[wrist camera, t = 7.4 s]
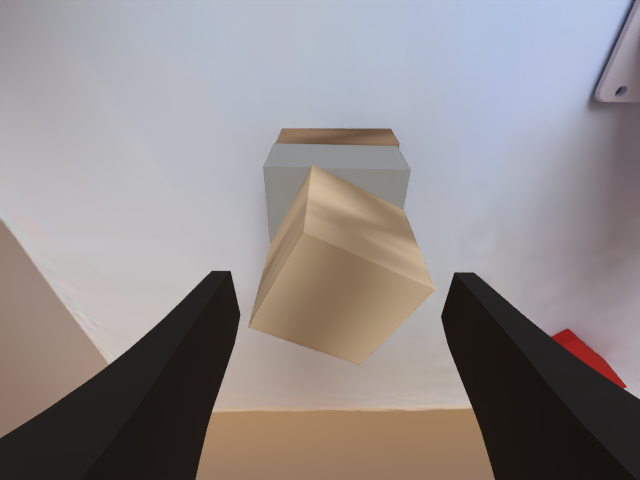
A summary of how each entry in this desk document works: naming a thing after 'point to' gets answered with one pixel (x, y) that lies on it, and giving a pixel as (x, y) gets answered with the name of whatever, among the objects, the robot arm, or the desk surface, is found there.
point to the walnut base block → (338, 137)
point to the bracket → (587, 355)
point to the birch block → (340, 270)
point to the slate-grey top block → (340, 160)
